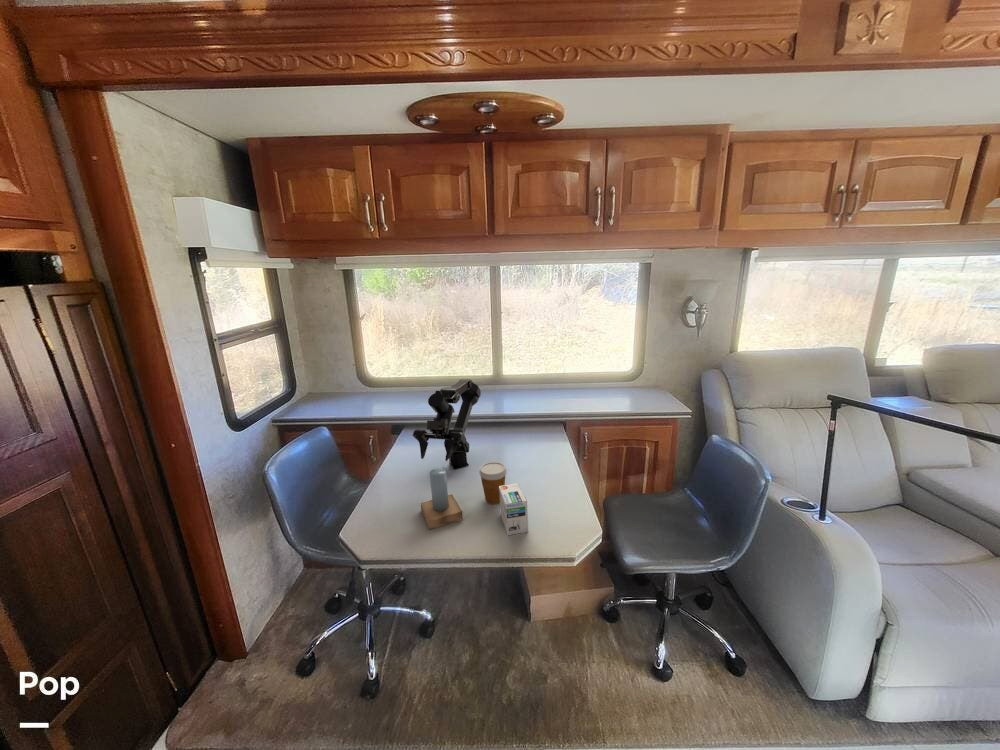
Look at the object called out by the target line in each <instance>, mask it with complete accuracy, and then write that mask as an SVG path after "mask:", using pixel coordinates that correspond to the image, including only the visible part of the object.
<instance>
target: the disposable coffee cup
mask: <svg viewBox="0 0 1000 750" xmlns="http://www.w3.org/2000/svg"><path fill="white" fill-rule="evenodd" d="M507 472H508V469H507V468H506V466H505V464H504V463H501V462H499V461H490V462H489V461H488V462H486V463H484V464H482V465H481V466H480V468H479V471H478V475H479V476H480V479H481V484H482V489H483V494H484V495H483V496H484V500H485V502H486V503H487V504H489V505H490V504H491V505H497V504H500V495H499V486H503V485H506V484H505V483H506V475H507Z"/></svg>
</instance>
